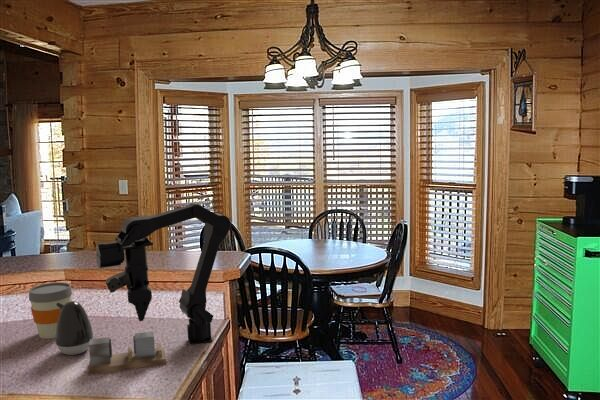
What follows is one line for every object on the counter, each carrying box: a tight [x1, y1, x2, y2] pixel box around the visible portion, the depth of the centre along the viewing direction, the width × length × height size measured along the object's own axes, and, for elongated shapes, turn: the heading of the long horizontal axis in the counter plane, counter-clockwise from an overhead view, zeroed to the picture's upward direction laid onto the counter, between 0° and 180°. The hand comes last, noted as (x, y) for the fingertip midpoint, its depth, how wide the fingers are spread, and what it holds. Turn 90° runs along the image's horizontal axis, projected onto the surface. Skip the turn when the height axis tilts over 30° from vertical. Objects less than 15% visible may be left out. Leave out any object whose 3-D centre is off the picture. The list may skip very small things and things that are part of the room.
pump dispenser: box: [54, 300, 94, 356], centre depth 157 cm, size 10×10×15 cm
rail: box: [87, 336, 167, 376], centre depth 149 cm, size 20×8×8 cm, turn 107°
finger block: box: [133, 330, 156, 360], centre depth 150 cm, size 5×4×6 cm
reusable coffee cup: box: [28, 281, 73, 340], centre depth 172 cm, size 13×13×15 cm
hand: (140, 315), depth 154 cm, fingers open, 9 cm apart
